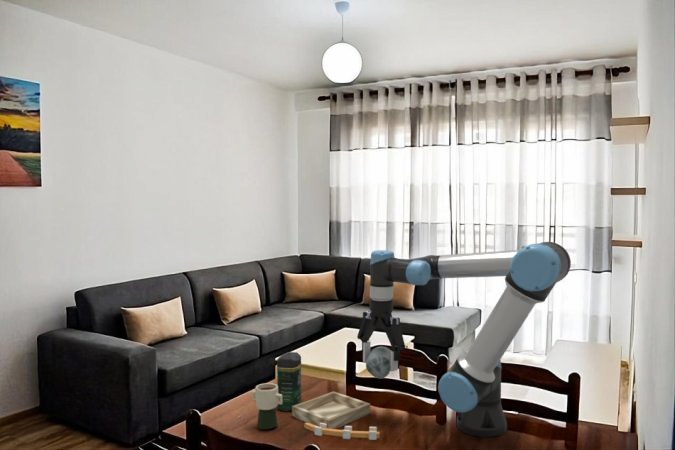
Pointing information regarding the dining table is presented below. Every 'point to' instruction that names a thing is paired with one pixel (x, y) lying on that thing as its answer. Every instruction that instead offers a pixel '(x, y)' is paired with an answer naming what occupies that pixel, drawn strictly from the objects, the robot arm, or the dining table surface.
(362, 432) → the cable
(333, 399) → the wooden tray
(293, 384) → the coffee jar
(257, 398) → the character mug
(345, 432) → the clips
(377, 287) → the robot arm
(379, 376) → the grey patterned ovoid
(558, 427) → the dining table surface
